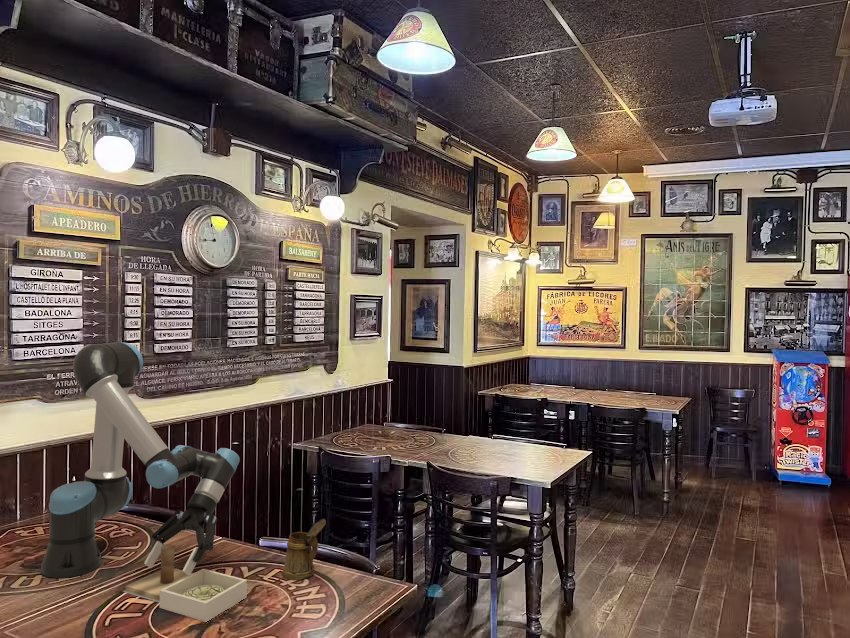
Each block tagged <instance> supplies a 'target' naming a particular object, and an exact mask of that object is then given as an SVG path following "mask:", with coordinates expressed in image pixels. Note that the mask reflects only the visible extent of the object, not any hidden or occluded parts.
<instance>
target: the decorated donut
mask: <svg viewBox="0 0 850 638" xmlns="http://www.w3.org/2000/svg"><path fill="white" fill-rule="evenodd" d="M223 591H225V590H224V589H223V588H222V587H220V586H218V585H202V586H198V587H193V588H191V589H189V590H187V591H186V592H184V593H183V595H185V596H188V597H192V598H196V599H199V600H203V601H207V600H209V599H211V598H212V597H214V596H216V595H218V594H219V593H221V592H223Z"/></svg>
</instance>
